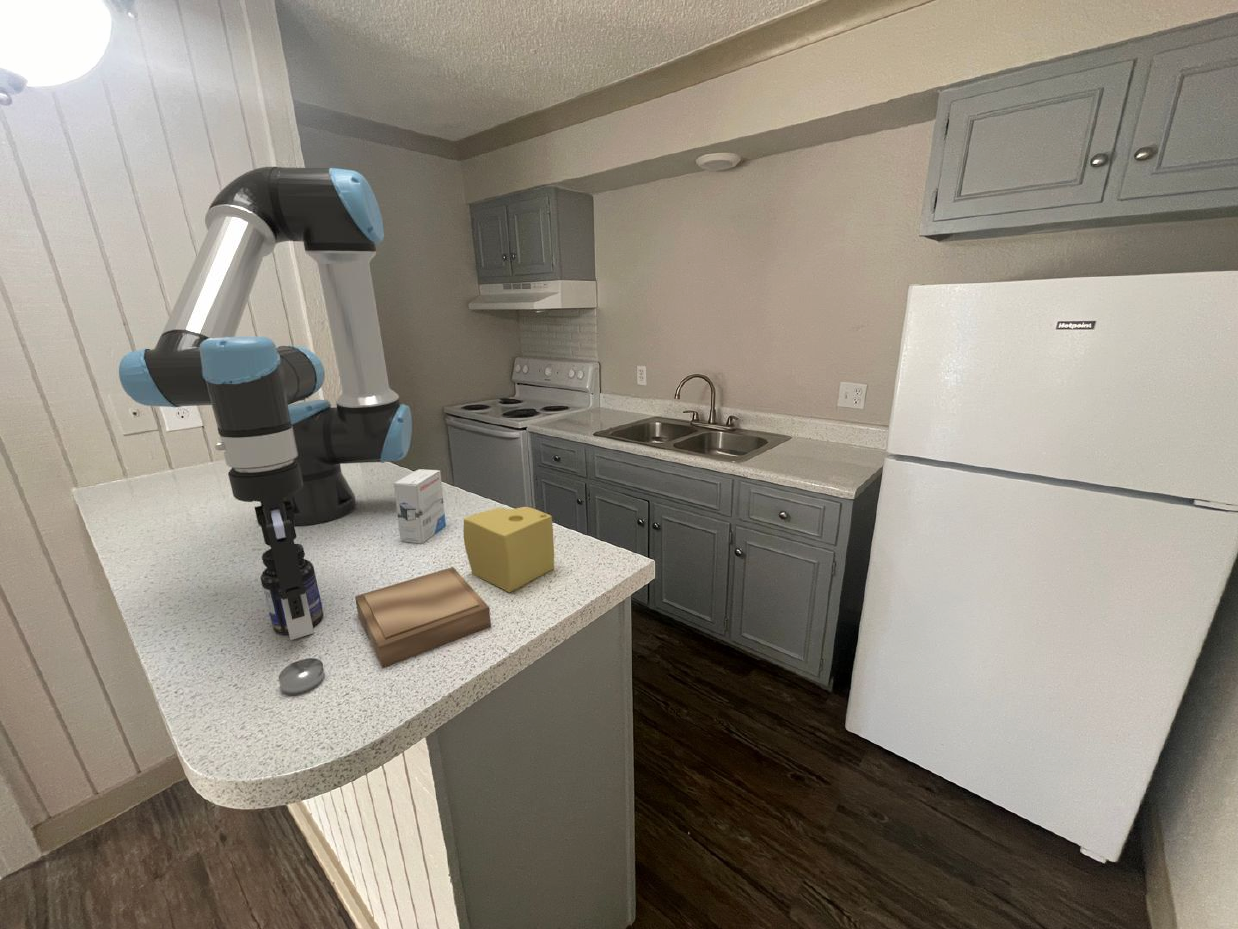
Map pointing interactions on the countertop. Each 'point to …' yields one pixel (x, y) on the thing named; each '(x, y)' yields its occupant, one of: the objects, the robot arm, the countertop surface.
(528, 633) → the countertop surface
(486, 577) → the cheese
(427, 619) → the walnut stand
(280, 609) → the pill bottle
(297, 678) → the grey metal puck
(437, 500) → the ink box
